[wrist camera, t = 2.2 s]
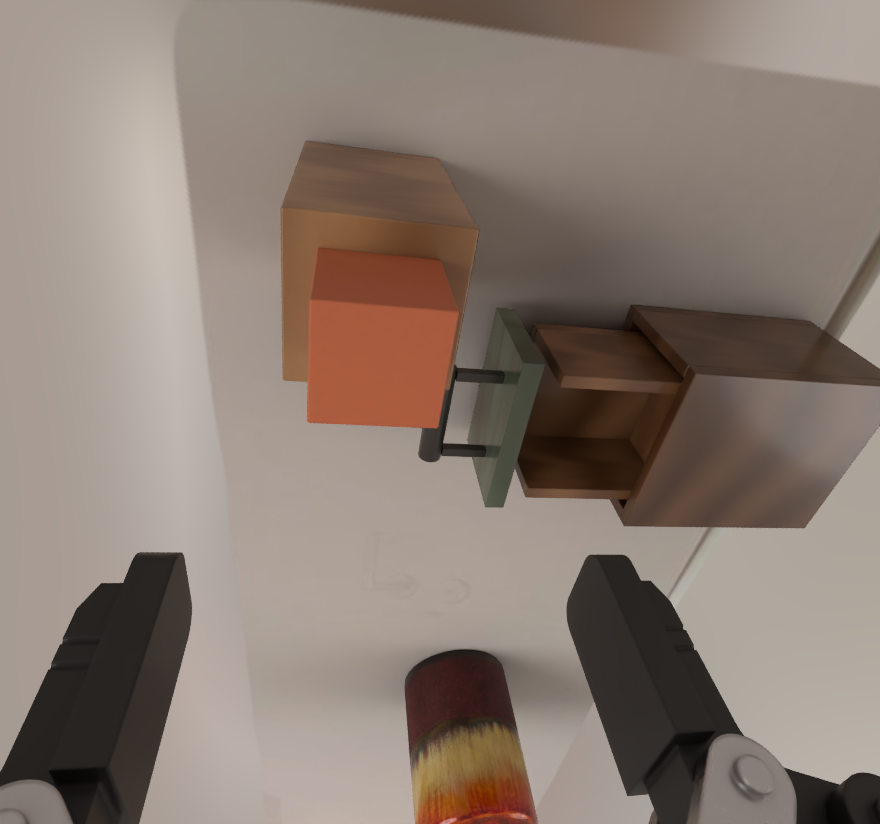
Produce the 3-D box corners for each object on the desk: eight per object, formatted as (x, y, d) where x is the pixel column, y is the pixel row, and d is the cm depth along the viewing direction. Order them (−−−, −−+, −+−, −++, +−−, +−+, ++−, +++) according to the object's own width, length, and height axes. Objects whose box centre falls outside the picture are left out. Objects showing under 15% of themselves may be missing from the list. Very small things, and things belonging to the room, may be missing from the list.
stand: (303, 271, 33) (282, 381, 23) (304, 140, 29) (280, 206, 19) (422, 282, 34) (449, 390, 24) (439, 158, 30) (480, 229, 20)
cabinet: (580, 443, 43) (623, 526, 36) (631, 304, 37) (695, 373, 30) (736, 449, 46) (804, 528, 39) (809, 320, 39) (908, 387, 32)
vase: (422, 644, 56) (451, 907, 40) (519, 653, 59) (582, 899, 43) (391, 701, 62) (405, 952, 45) (481, 706, 65) (524, 942, 48)
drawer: (409, 437, 40) (418, 506, 34) (429, 301, 34) (443, 357, 28) (626, 446, 43) (667, 510, 37) (679, 322, 37) (736, 377, 31)
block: (314, 356, 22) (306, 423, 19) (317, 246, 20) (309, 299, 16) (425, 364, 23) (438, 429, 20) (441, 259, 21) (459, 312, 17)
